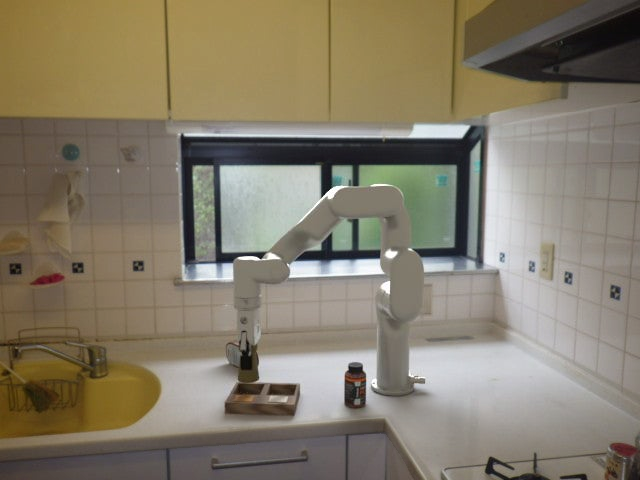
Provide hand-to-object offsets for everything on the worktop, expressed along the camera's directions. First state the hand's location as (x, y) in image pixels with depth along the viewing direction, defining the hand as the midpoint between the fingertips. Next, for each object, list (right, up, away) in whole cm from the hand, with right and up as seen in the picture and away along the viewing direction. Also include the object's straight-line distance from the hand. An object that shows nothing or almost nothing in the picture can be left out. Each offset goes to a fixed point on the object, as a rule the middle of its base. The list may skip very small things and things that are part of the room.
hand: (248, 365), depth 144 cm
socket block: (+5, -10, -1) cm, 11 cm away
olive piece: (0, -4, 0) cm, 4 cm away
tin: (-6, -7, +25) cm, 27 cm away
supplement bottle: (+30, -10, -2) cm, 31 cm away
